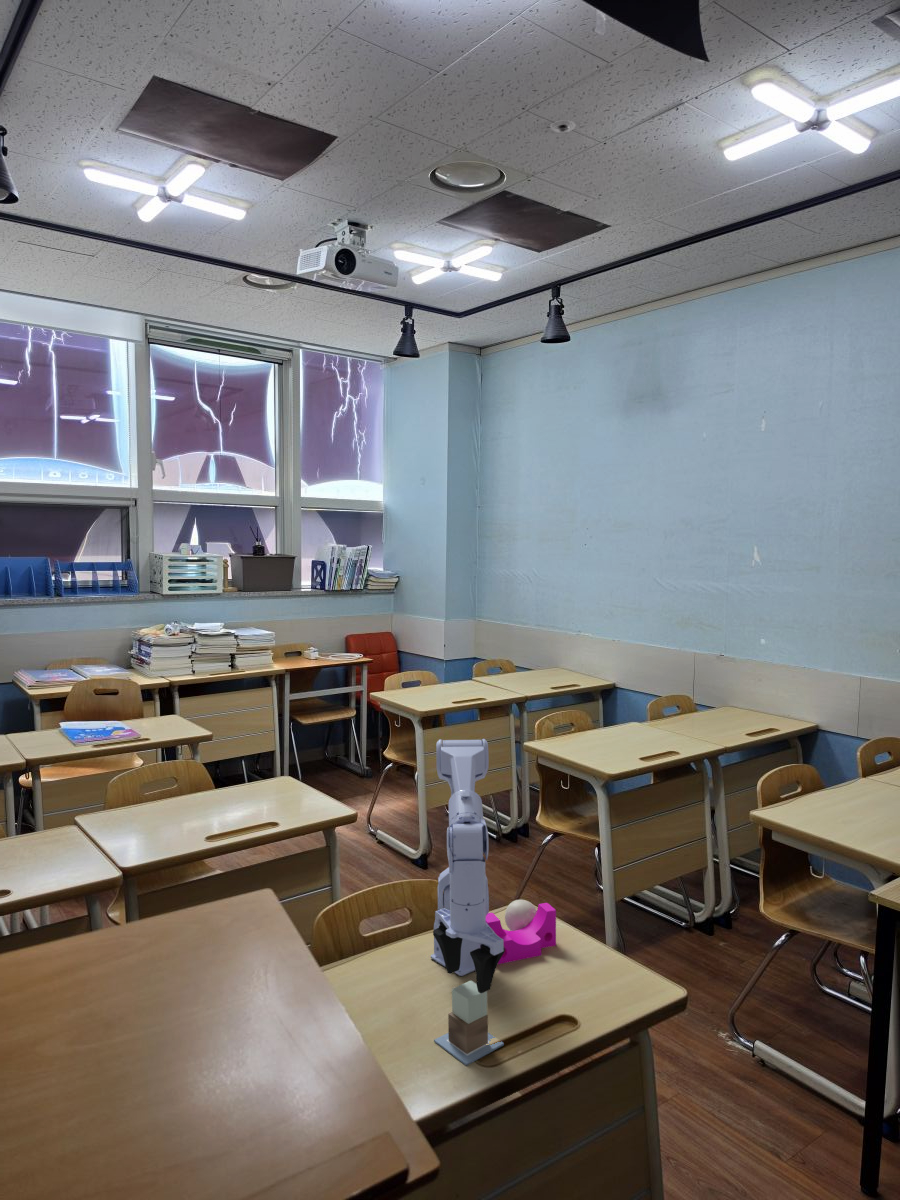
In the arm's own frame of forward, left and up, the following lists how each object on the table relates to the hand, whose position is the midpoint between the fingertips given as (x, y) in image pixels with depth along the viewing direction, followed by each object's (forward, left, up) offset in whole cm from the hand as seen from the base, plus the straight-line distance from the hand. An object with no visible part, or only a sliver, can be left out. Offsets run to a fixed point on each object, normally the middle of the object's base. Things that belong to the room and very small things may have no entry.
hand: (468, 980), depth 127 cm
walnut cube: (0, 0, -10) cm, 10 cm away
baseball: (-21, +33, -11) cm, 41 cm away
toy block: (-16, +28, -11) cm, 34 cm away
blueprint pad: (0, 0, -10) cm, 10 cm away
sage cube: (0, 0, -6) cm, 6 cm away
